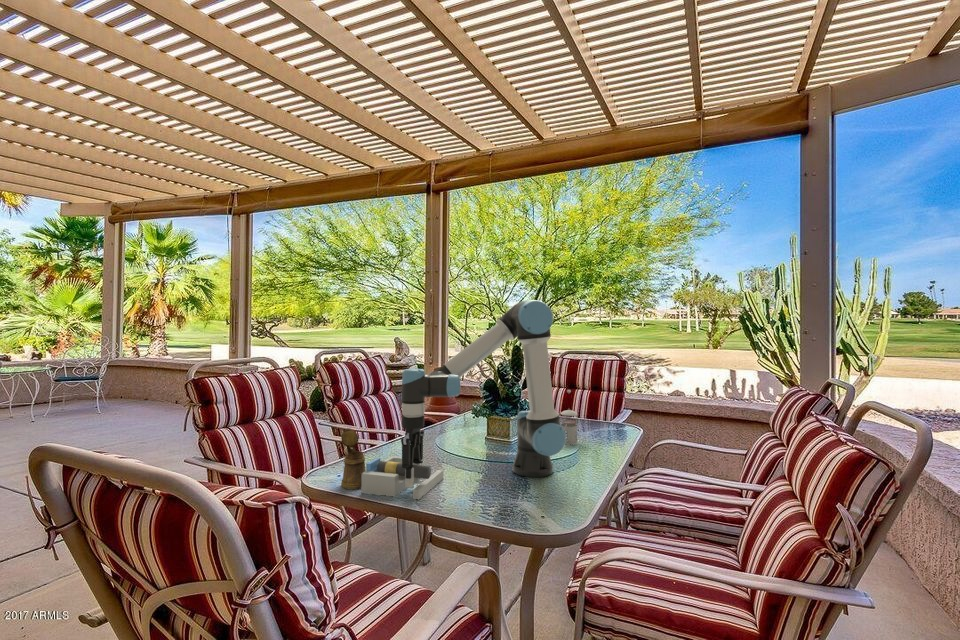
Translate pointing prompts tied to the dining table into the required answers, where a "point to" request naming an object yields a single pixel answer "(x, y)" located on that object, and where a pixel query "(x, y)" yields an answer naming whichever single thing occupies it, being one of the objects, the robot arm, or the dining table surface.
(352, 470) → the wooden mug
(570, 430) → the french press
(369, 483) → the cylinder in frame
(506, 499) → the dining table surface
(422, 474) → the rod
